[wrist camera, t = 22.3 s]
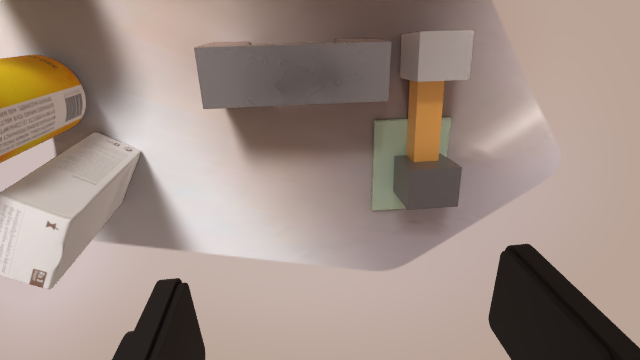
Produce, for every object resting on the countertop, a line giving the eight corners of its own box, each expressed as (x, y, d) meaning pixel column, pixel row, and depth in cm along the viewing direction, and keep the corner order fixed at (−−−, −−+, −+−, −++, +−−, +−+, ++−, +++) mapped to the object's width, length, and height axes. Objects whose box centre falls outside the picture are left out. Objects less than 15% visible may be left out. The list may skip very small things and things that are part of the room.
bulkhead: (212, 42, 30) (194, 47, 24) (371, 37, 30) (391, 41, 25) (219, 92, 31) (203, 109, 25) (369, 86, 32) (388, 101, 26)
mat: (374, 120, 33) (375, 121, 33) (449, 117, 34) (451, 118, 33) (371, 208, 37) (372, 210, 36) (439, 204, 37) (441, 206, 37)
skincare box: (93, 129, 32) (-12, 187, 20) (145, 151, 33) (73, 217, 22) (75, 188, 33) (-29, 270, 22) (125, 206, 35) (49, 293, 23)
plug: (399, 34, 31) (417, 31, 26) (450, 32, 31) (477, 29, 26) (393, 191, 35) (407, 210, 31) (437, 188, 35) (458, 207, 31)
